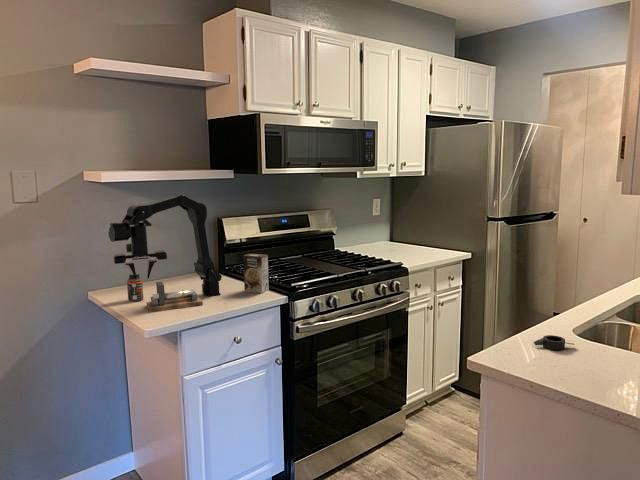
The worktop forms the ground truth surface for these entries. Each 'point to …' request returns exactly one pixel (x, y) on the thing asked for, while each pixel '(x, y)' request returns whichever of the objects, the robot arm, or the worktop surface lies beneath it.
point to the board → (175, 304)
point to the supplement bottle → (135, 288)
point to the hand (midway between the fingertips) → (142, 279)
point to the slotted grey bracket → (161, 292)
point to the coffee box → (256, 273)
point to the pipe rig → (175, 296)
